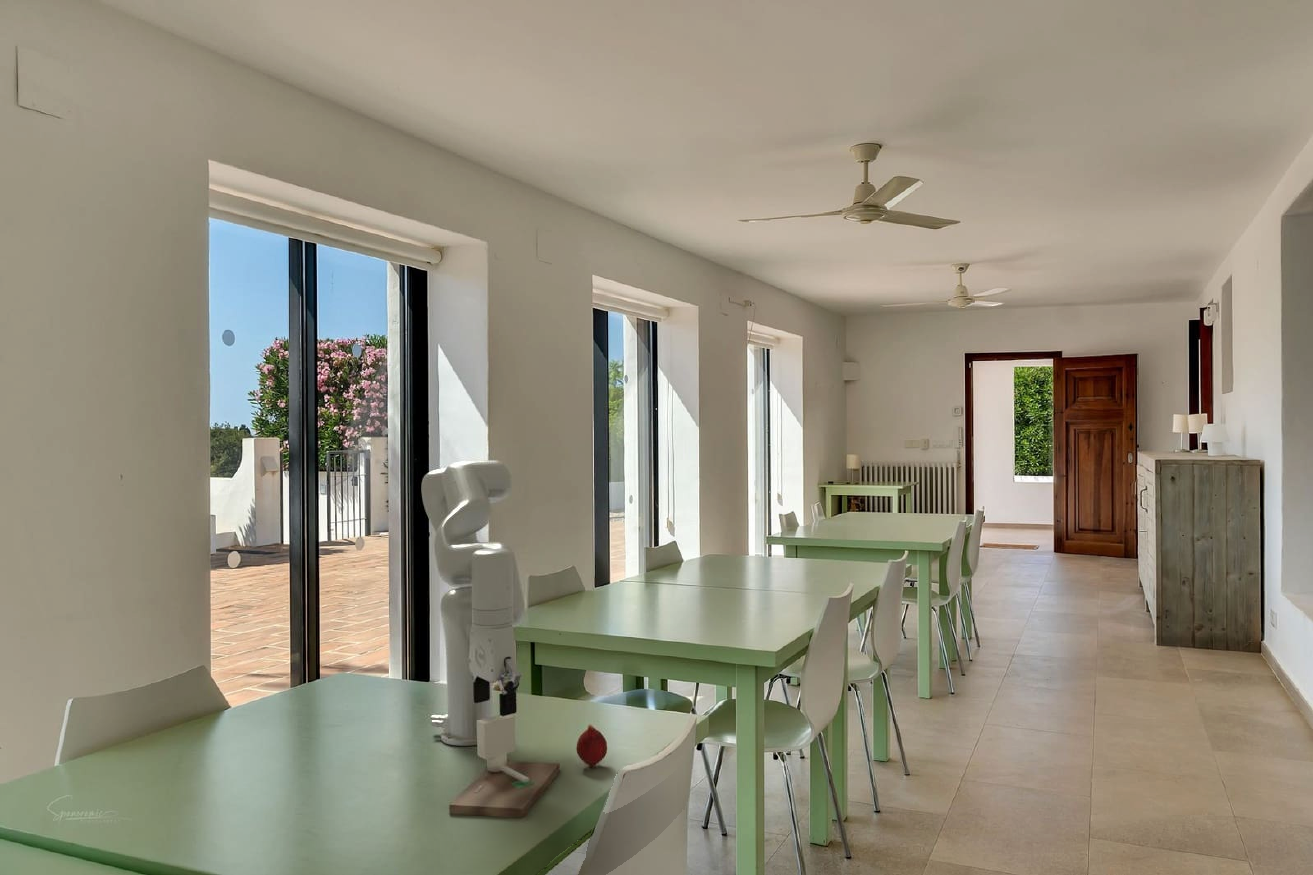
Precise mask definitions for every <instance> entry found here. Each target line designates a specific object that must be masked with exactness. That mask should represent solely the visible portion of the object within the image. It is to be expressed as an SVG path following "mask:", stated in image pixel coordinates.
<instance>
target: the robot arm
mask: <svg viewBox="0 0 1313 875" xmlns="http://www.w3.org/2000/svg"><path fill="white" fill-rule="evenodd" d="M512 483H513V482H512V475H511V472H510V469H509V467H508V466H507V465H506V463H504V462H503V461H501V460H496V459H494V460H493V459H491V460H466V461H465V460H464V461H458V462H457V461H456V462H453V463H451V464H450V465H448V466H447V467H445V468H438V469H434V470H431V471H429V472H427V473H426V474H425V475H424V476H423V478H422V481H421V490H420V491H421V498H422V504H423V507H424V511H425V513H426V515H427V517H428V519H429V521H430V523H431V525H432V527H433V529H434V531H435V534H434V535H435V536H434V542H433V543H434V544H433V547H434V549H433V550H434V556H435V560H436V566H437V571H438V574H439V576H440V578H441V580H442V581H443V582H444V583H445V584H447V585H449V587H453V588H452V589H450V590H449V591H447V592H446V593H444V594H443V596H442V597H441V600H440V616H441V621H442V627H443V628H442V629H443V633H444V643H445V660H446V662H445V663H446V664H445V666H446V695H447V696H446V697H447V699H446V700H447V701H446V702H447V714H445V715H441V714H433V715H431V717H430V723H431V727H432V728H442V729H443V730H442V731H441V733H440V740H441V742H443V744H447V745H451V746H458V747H459V746H460V747H461V746H462V747H465V746H468V747H469V746H477V720H481V719H486V718H490V717H494V715H495V714H494V683H497V684H498V686H499V689H500V692H501V693H499V715H501V716H506V715H513V714H516V713H517V711H518V710H517V692H518V691H519V690H518V688H519V686H520V681H521V677H522V673H521V671H520V670H519V668H518V667H517V652H516V640H515V632H514V628H515V627H518V626H520V625H521V624H522V623H523V621H524V618H525V614H526V611H525V610H526V608H525V607H526V605H525V600H524V593H523V589H522V583H521V578H520V573H519V569H518V563H517V559H516V554H515V553H514V552H515V551H514V549H513V548H512V546H511V545H509V544H508V543H506V542H504V541H482V542H481V541H479V540H478V537H477V532H479V531H481V530H482V529H483V528H485V527H486V526H487V525H488V524H489V523H490V521H491V519H492V516H493V509H492V505H491V504H495V503H499V502H501V501H504V500H506V499H507V498H508V497H509V495H510V494H511V489H512ZM505 682H507V684H505Z"/></svg>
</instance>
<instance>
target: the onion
mask: <svg viewBox="0 0 1313 875" xmlns="http://www.w3.org/2000/svg"><path fill="white" fill-rule="evenodd" d="M587 725H588V726H587V729H586V730H585V731H584V732H582V733H581V735H579V737H578V739H577V741H576V748H575V749H576V753H577V756H578V757H579V759H580V760H581V761H583V763H584V764H586V765H587V766H589V767H590V768H592V767H595V766H596V765H598V764H599V763H600V762H601V761H602V760H603V759H604V758H605V757H606V755H607V753H608V743H607V740H606V738H605V736H604V735H603V733H602V732H601V731H599V730H598V729H596V728H595V727H594V726H593V725H592V724H591V723H589V724H587Z"/></svg>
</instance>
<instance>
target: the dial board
mask: <svg viewBox="0 0 1313 875" xmlns="http://www.w3.org/2000/svg"><path fill="white" fill-rule="evenodd" d="M560 763H561V762H560ZM560 763H559V762H546V761H545V762H541V761H540V762H539V761H538V762H537V761H520V760H519V761H518V760H507V767H509V768H511V769H513V770H515V771H516V772H518V773H520V774H522V775H524V776H526V777H528V778H529V781H528V782H522V781H521V780H519V779H517V778H515V777H513V776H511V775H509V774H508V773H506V772H504V771H500V772H490V771H488V770H487V767H486V768H485V769H483V771H481V773H479V775H478V776H476V777H475V779H474V780H472V781H471V782H470V783H469V784H468V785H467V786H466V787H465V788H464V789H463V790H462V792H460V794H458V795H457V796H456V797H455V798H454V799H453V800H452V802H450V804H448V805H449V806H448V808H449V809H448V810H449V814H450V815H466V816H468V815H469V816H485V817H487V816H488V817H504V818H519V819H520V818H525V817H526V816H527V814H528V812H529V811H530V810H531V809H532V807H533V806H534V805H535V803H537V801H538V800H539V798H540V797H541V796H542V795H543V794H544V792H545V791H546V789H547V788H548V787H549V786H550V785H551V784H552V782H553V780H554V779H555V778H556V777H557V775H558V774H559V773H560V771H561V764H560Z"/></svg>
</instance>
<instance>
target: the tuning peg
mask: <svg viewBox="0 0 1313 875" xmlns="http://www.w3.org/2000/svg"><path fill="white" fill-rule="evenodd" d="M476 746H477V747H476V748H477V756H478V757H480V758H481V759H484V760H486V768H487V770H488V771H490V772H500V771H504V772H506V773H508V774H509V775H511V776H513V777H515V778H517V779H519V780H521V781H522V782H528V781H529V778H528V777H526V776H524V775H522V774H520V773H518V772H516V771H515V770H513V769H511V768H509V767H507V761H508V755H507V754H509V753H513V752H516V751H517V747H516V716H514V715H513V714H510V715H506V716H501V715H500V714H499V715H495V716H494V717H490V718H486V719H481V720H477V745H476Z"/></svg>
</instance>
